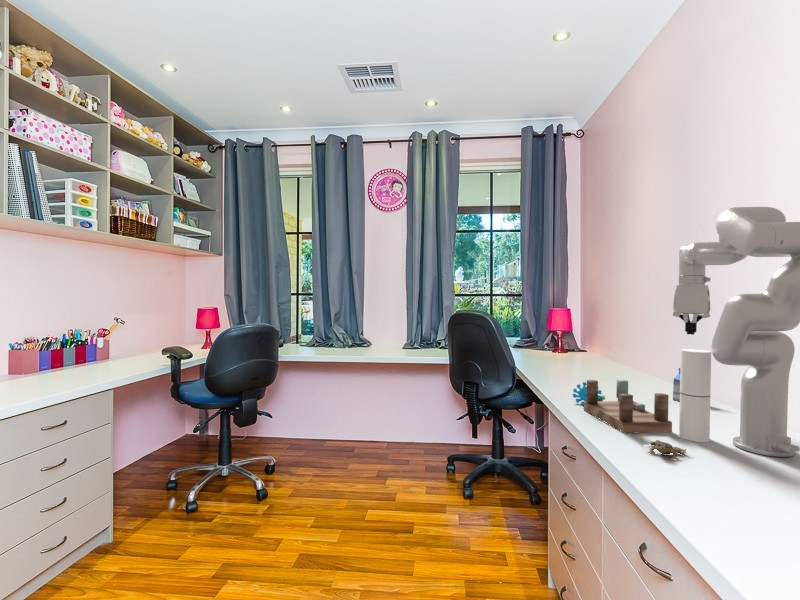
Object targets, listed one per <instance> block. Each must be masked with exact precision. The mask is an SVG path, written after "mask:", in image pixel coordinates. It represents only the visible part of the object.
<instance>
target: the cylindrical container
mask: <svg viewBox="0 0 800 600" xmlns="http://www.w3.org/2000/svg"><path fill="white" fill-rule="evenodd" d="M679 363H680V366H679V368H680V401H679V420H678V421H679V424H678V425H679V426H678V427H679V432H678V433H679V434H678V435H679V437H680V438H682V439H684V440H686V441H691V442H695V443H696V442H697V443H707V442H710V439H711V438H710V436H711V435H710V434H711V431H710V430H711V427H710V426H711V391H712V390H711V387H712V386H711V383H712V382H711V381H712V379H711V378H712V350H707V349H706V350H705V349H698V348H681V349H680V362H679Z"/></svg>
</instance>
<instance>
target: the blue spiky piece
mask: <svg viewBox="0 0 800 600" xmlns="http://www.w3.org/2000/svg"><path fill="white" fill-rule="evenodd" d="M577 389H578V390H577ZM572 392H573V394H572V397H573V399H575V402H576V403H577V404H578V403H580V405H581V406H583V405H584V402H586V392H587V382H585V381H583V382H582V387H581V384H580V383H579V384H577V385H576V388H573V389H572ZM605 400H606V397H605V395H602V390H601V389H599V387H598V401H605Z"/></svg>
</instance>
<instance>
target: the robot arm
mask: <svg viewBox="0 0 800 600" xmlns="http://www.w3.org/2000/svg"><path fill="white" fill-rule="evenodd" d="M715 229H716V233H717V234H718V240H719V241H705V242H703V241H700V242H698V241H697V242H692V243H691V244H687V245H682V246H681V247H680V248H679V250H678V251H679V252H678V253H679V255H678V285H676V286H675V289H674V290H675V291H674V295H673V306H672V307H673V310H672V311H673V313H672V316H673V317H676V318H679V319H681V320H682V322H683V323H685V324H684V325H685V327H684V331H685V332H686V335H695V333H697V328H698V327H697V326H698V325H697V324H698V322H700V321H701V320H702V319H710V317H711V314H710V312H711V295H710V289H709V285H708V284H706V283H708V282H711V277H708V276H706V266H729V265H733V264H736V263H737V262H740V261H742V260H744V259H746V258H747V257H754V258H787V257H788V258H791V259H790V260H789V261H787V262H786V263H785V264H783V265H782V266H781V267H779V269H777V270H776V271H775V272H774V273H773V275H772V276H771V278H770V280H769V283H768V285H767V288H766V289H765V290H764V291H763V292H761V293H742V294H741V293H740V294H737V295H734V296H732V297H731V298H730V299H729V300H728V301H727V302H726V304H725V305H724V307H723V310H722V312H721V315H720V317H719V321H718V323H717V327H716V328H715V332H714V335H713V338H712V341H711V355H712V356H713V358H714V359H715V360H716V361H717V362H718V363H720V364H722V365H727V366H738V367H739V366H741V367H743V366H744V367H745V366H747V368H746V370H745V371H744V373H743V375H742V377H741V381H740V413H739V414H740V424H739V435H738V436H735V437H733V438H732V444H733V445H734V446H736V447H737V448H739V449H741V450H744V451H747V452H749V453H754V454H757V455H758V454H759V455H762V456H763V455H764V456H769V457H778V458H787V457H788V458H789V457H793V456H795V454H796V453H797V452H799V451H800V447H799V446H798V445H795V444H794V443H793V444H792V442H791V441H792V438H791V437H790V436H788V408H789V407H788V406H789V405H788V403H789V402H788V401H789V382H790V381H789V379H790V371H791V367H792V363H793V360H794V357H795V343H794V342H793V339H792V338H791V337H790V336H788V335H787V334H786V333H784V332H787V331H792V330H794V329H795V328H797V327H798V326H799V324H800V221H787V219H786V216H785V213H783V211H781V210H780V209H778V208H776V207H770V206H737V207H731V208H728V209H726V210H725V211H723V212H722V213H721V214H719V216H718V218H717V220H716V224H715ZM690 315H692V320H691V317H690Z"/></svg>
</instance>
